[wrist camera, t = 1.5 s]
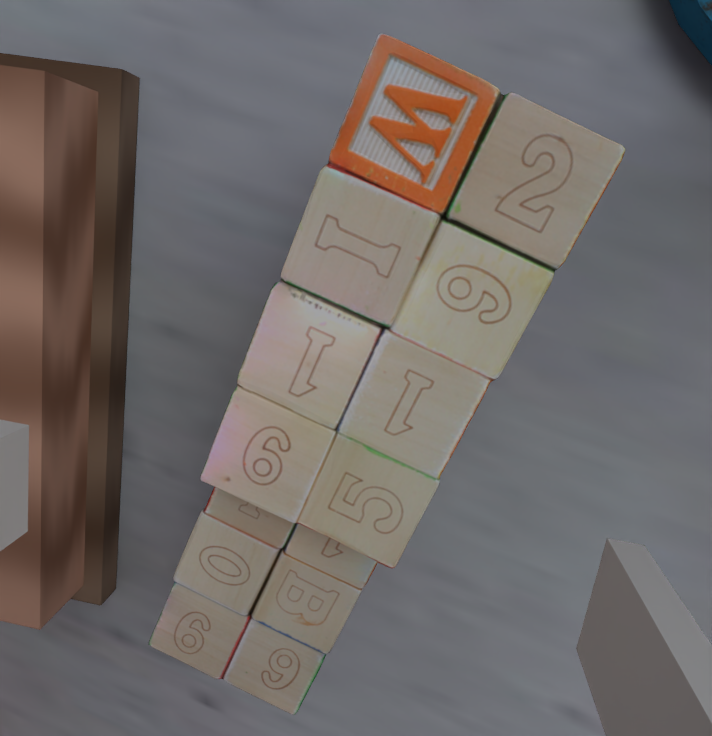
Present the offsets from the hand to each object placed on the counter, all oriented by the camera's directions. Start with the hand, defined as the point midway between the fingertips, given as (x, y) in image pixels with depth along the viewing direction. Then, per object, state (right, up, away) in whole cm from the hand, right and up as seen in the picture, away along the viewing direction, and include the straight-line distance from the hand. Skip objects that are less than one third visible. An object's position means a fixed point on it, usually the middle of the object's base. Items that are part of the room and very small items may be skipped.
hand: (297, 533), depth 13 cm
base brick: (-15, +5, +16) cm, 23 cm away
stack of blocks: (+2, +4, +15) cm, 15 cm away
